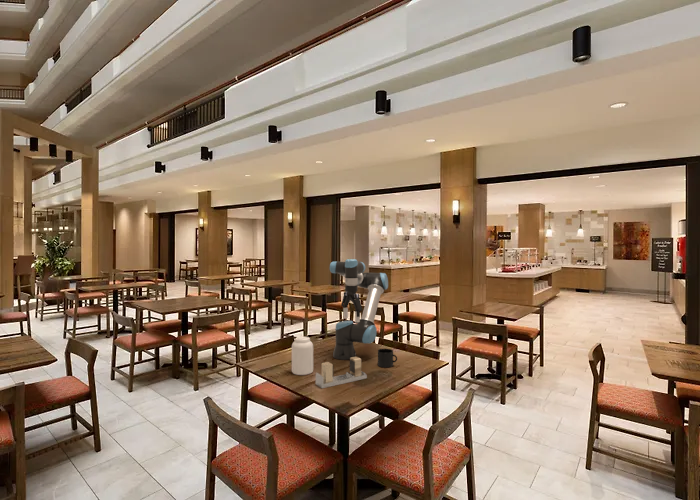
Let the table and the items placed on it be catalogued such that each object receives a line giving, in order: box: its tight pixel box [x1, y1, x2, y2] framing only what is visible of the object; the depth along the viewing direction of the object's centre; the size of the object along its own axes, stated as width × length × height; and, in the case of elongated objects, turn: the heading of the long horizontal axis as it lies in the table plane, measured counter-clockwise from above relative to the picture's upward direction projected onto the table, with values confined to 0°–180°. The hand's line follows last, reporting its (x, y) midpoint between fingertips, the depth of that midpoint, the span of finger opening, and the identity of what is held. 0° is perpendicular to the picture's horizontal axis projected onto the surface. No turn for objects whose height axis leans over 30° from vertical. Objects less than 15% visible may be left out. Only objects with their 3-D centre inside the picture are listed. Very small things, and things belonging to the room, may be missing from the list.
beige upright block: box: [349, 356, 362, 376], centre depth 207 cm, size 5×5×9 cm
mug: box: [377, 348, 398, 369], centre depth 228 cm, size 9×12×9 cm
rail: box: [315, 361, 368, 389], centre depth 202 cm, size 7×28×11 cm, turn 121°
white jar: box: [291, 336, 314, 376], centre depth 217 cm, size 12×12×20 cm
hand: (351, 320), depth 224 cm, fingers open, 13 cm apart
